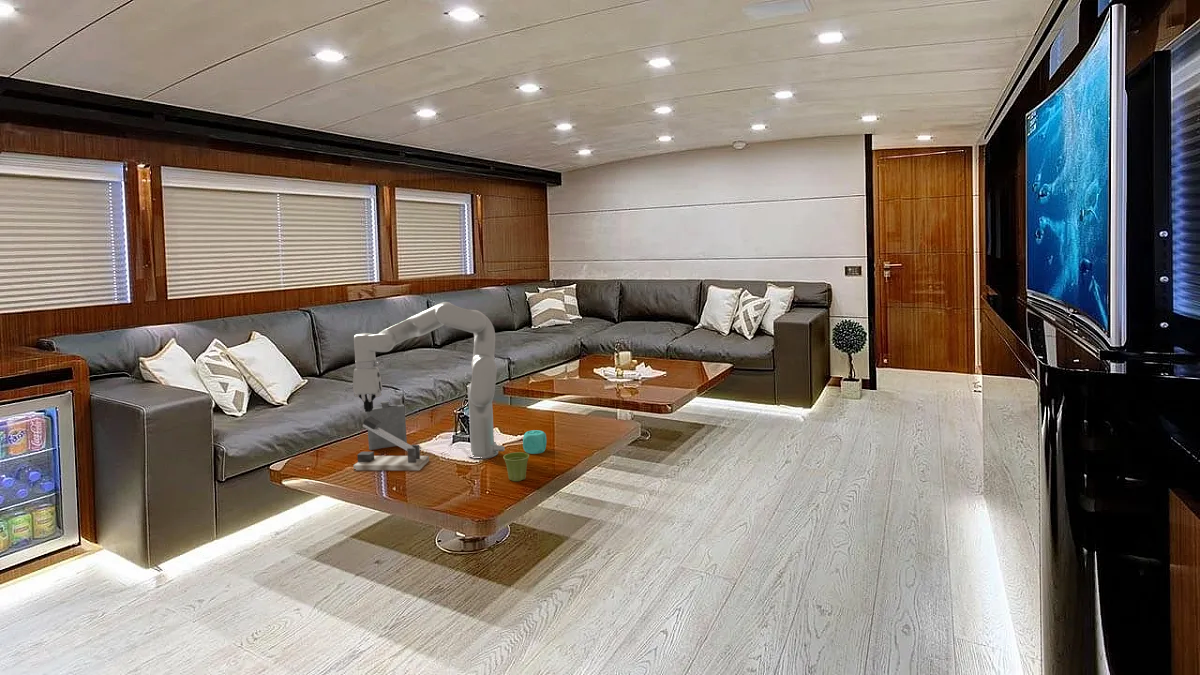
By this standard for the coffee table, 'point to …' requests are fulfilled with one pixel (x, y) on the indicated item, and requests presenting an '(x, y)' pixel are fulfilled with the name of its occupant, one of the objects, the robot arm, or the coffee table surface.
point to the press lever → (384, 433)
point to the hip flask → (387, 424)
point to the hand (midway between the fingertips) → (368, 411)
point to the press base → (392, 461)
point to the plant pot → (516, 465)
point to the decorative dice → (534, 442)
